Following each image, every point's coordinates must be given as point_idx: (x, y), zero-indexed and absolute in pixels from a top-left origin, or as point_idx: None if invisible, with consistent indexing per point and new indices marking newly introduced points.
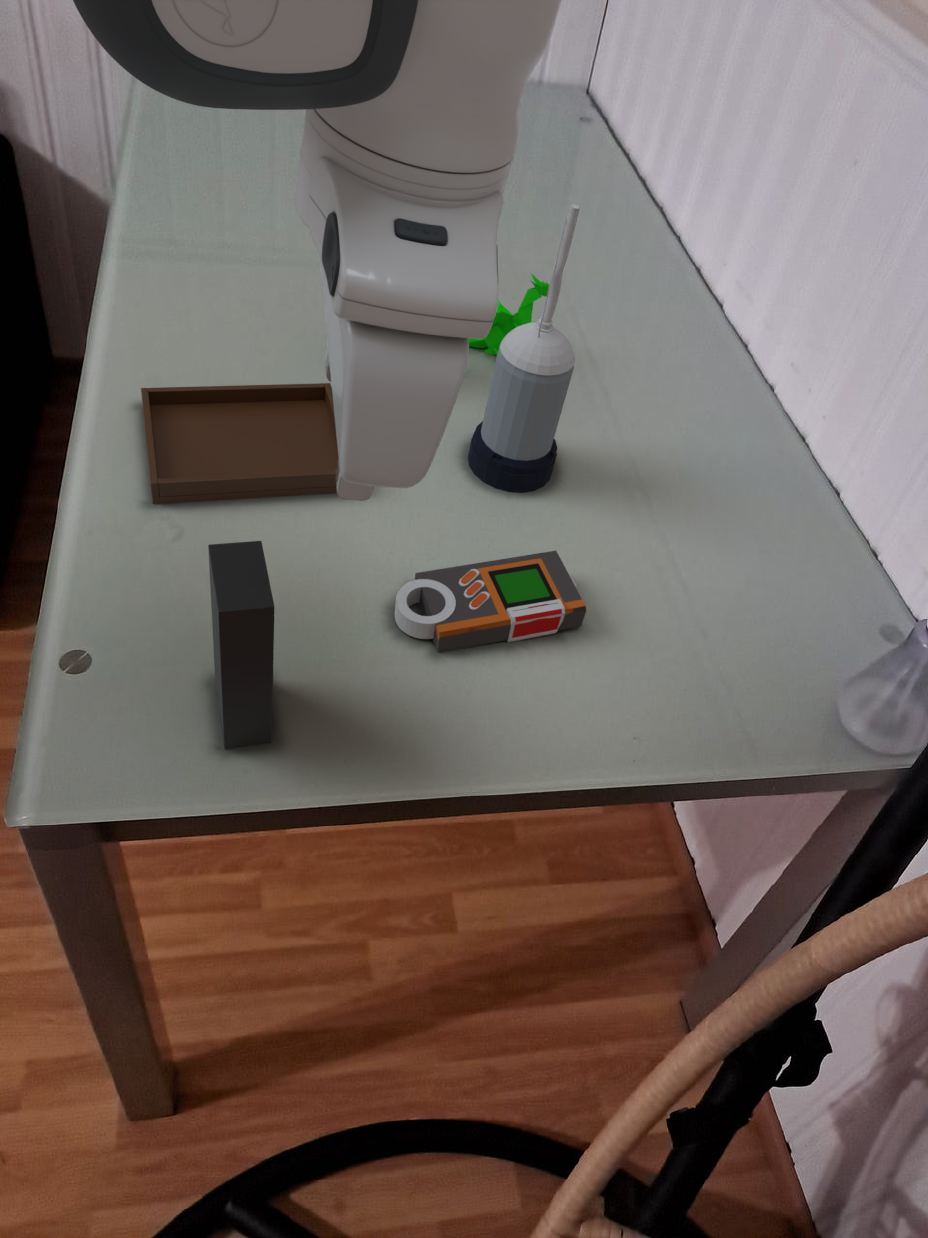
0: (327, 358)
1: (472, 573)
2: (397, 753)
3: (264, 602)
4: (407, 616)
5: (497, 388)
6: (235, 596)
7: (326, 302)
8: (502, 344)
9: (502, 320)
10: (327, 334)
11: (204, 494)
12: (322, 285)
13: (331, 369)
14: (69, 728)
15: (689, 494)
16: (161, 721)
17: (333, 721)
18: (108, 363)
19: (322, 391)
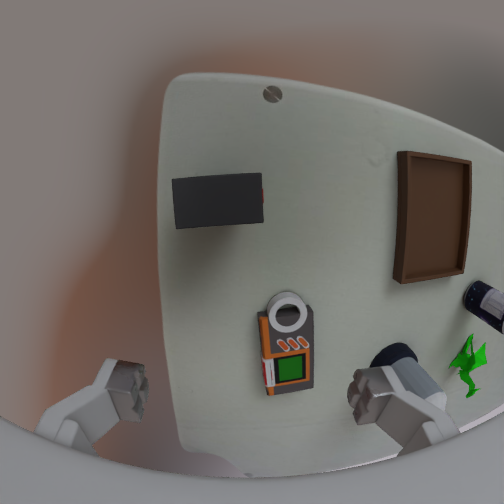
0: (382, 381)
1: (305, 344)
2: (184, 278)
3: (180, 220)
4: (277, 302)
5: (420, 382)
6: (190, 194)
7: (388, 494)
8: (439, 394)
9: (468, 366)
10: (292, 500)
11: (401, 183)
12: (451, 455)
13: (148, 497)
14: (221, 91)
15: (344, 433)
16: (220, 140)
17: (210, 244)
18: (486, 149)
19: (460, 267)
